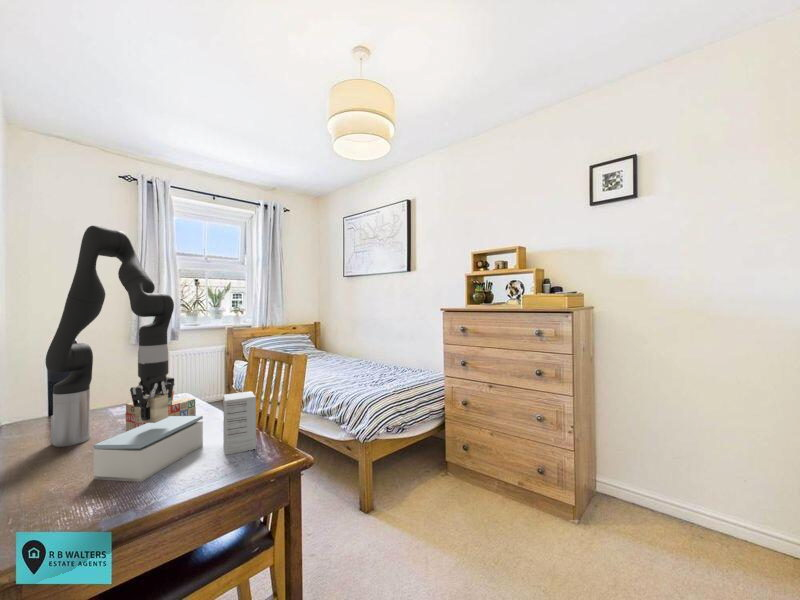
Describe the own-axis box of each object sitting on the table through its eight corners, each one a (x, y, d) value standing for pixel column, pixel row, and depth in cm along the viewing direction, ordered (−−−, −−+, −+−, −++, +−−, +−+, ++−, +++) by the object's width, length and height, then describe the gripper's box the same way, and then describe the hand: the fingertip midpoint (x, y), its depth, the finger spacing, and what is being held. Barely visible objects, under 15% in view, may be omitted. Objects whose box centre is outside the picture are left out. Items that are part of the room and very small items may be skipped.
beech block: (139, 422, 104) (139, 398, 104) (153, 416, 109) (153, 394, 109) (154, 422, 104) (154, 398, 104) (168, 417, 109) (167, 394, 109)
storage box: (93, 479, 95) (93, 449, 95) (164, 443, 119) (164, 419, 119) (140, 482, 93) (140, 451, 93) (202, 445, 117) (202, 421, 117)
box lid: (93, 448, 95) (93, 444, 95) (164, 419, 119) (164, 416, 119) (140, 448, 93) (140, 444, 93) (202, 418, 117) (202, 415, 117)
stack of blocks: (186, 420, 144) (186, 389, 144) (196, 422, 141) (195, 391, 141) (125, 438, 125) (125, 403, 125) (135, 441, 122) (134, 405, 122)
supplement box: (256, 449, 114) (256, 396, 114) (224, 455, 109) (224, 400, 109) (253, 439, 122) (252, 390, 122) (223, 445, 117) (222, 393, 118)
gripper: (161, 356, 114) (161, 409, 114) (120, 363, 100) (120, 424, 100) (182, 356, 113) (182, 410, 113) (144, 364, 99) (144, 425, 99)
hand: (153, 416), depth 106 cm, fingers closed on beech block, 5 cm apart
